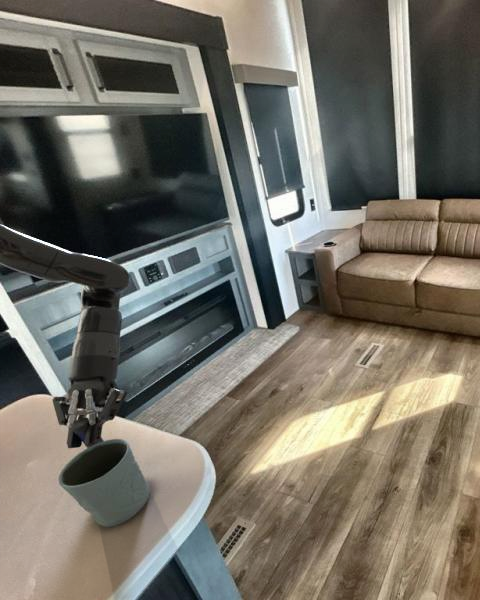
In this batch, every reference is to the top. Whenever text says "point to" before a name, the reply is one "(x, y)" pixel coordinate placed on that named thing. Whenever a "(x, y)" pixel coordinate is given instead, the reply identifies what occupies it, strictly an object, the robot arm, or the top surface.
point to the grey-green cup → (106, 482)
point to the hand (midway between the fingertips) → (83, 446)
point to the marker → (82, 429)
